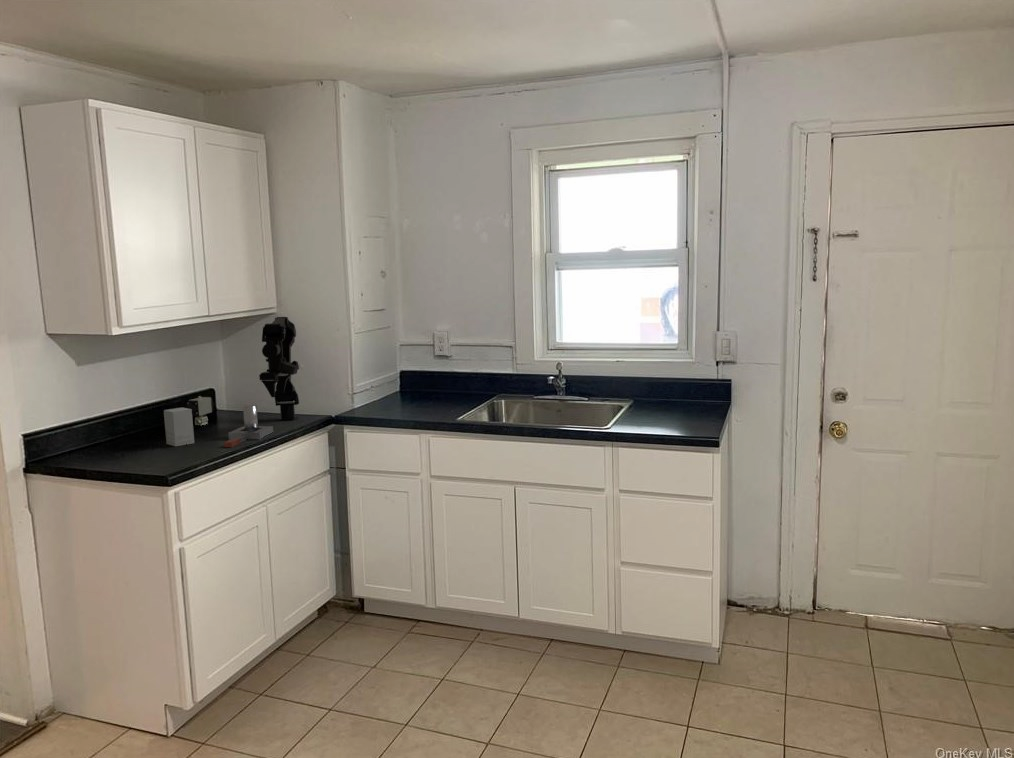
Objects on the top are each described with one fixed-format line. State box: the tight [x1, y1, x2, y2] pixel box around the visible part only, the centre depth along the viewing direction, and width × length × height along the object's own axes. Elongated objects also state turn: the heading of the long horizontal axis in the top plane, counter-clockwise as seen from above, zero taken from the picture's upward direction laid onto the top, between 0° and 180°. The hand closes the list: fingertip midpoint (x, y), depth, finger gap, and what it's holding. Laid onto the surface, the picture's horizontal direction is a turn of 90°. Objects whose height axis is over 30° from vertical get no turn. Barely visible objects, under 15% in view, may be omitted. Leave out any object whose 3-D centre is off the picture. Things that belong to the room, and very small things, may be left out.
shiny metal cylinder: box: [242, 404, 259, 431], centre depth 294 cm, size 5×5×11 cm
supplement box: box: [163, 407, 195, 447], centre depth 284 cm, size 7×7×13 cm
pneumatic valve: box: [185, 395, 215, 427], centre depth 318 cm, size 6×12×12 cm, turn 162°
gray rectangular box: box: [223, 425, 274, 448], centre depth 288 cm, size 25×12×2 cm, turn 174°
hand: (277, 395), depth 307 cm, fingers open, 9 cm apart
